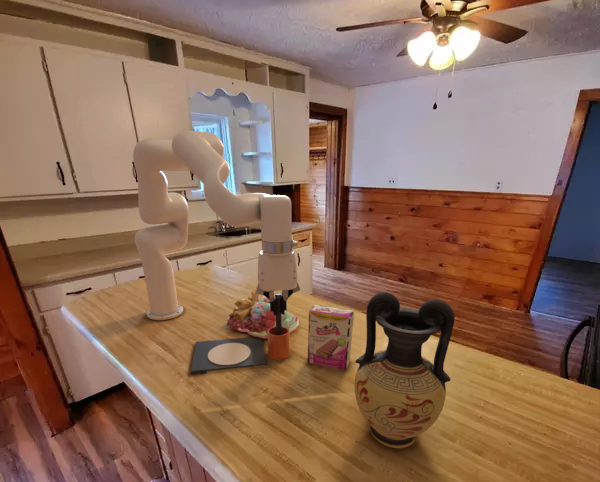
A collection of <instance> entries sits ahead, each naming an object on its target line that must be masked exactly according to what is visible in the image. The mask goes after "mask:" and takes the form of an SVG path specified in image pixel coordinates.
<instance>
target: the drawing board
mask: <svg viewBox="0 0 600 482" xmlns="http://www.w3.org/2000/svg"><path fill="white" fill-rule="evenodd" d="M267 365H268V361H267V357H266V351H265V346H264V342H263V338H260V337H255V336H248V337H236V338H225V339H223V338H222V339H213V340H200V341H195V344H194V351H193V357H192V363H191V369H190V375H197V374H206V373H207V372H211V371H212V372H213V371H221V370H229V369H230V370H231V369H239V368H240V369H241V368H249V367H261V366H267Z"/></svg>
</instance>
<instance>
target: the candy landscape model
mask: <svg viewBox="0 0 600 482" xmlns="http://www.w3.org/2000/svg"><path fill="white" fill-rule="evenodd" d="M255 290H256V289H254V290H251V297H250V296H248V297H247V299H245V298H244V299H242V298H241V299H238V300H237V301H235V302H234V305H235V307H234V309H233V311H232V312H231V313H229V315H228V317H227V319H226V321H227V323H226V326H228V325H230V327H229V329H231V330H234V331H239V332H240V333H241V332H242V333H247V334H248V335H249V336H251V337H260V338H262V339H267V340H268V338H267V331H268V329H269V328H271V327H275V326H276V315H274V314H273V311H271V310H270V300H269V299H268V298H266V297H265V296H262V297H260V299H259V296H260V294H257V293H256V291H255ZM281 314H282V313H281ZM282 326H283V327H286V328H288V329H289V331H290V334H291V333H293V332H295V331H296V330H297V329H298V328H299V317H298V316H294V314H293V313H291V311H290V312H289V311H288V310H285V315H283V314H282Z"/></svg>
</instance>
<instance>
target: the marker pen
mask: <svg viewBox="0 0 600 482" xmlns="http://www.w3.org/2000/svg"><path fill="white" fill-rule="evenodd" d="M281 296H282V292H281V293H280V292H277V293H274V297H275V301H276V312H277V315H276V334H277V336H279V335H281V334H282V314H281Z"/></svg>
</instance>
